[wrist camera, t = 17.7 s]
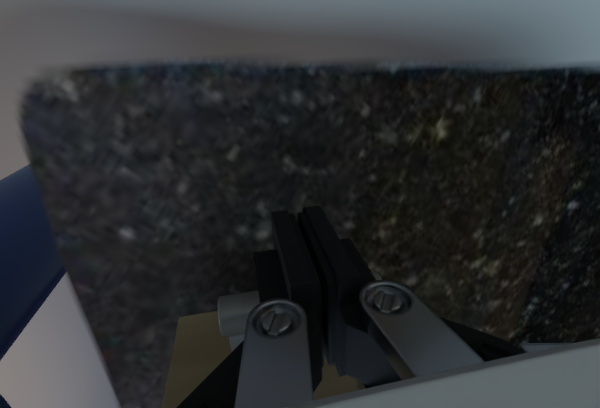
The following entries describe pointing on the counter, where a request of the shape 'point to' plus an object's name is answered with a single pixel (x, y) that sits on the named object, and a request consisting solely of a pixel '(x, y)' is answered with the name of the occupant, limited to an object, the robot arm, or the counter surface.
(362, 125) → the counter surface
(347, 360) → the robot arm
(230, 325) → the drawer
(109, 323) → the counter surface
